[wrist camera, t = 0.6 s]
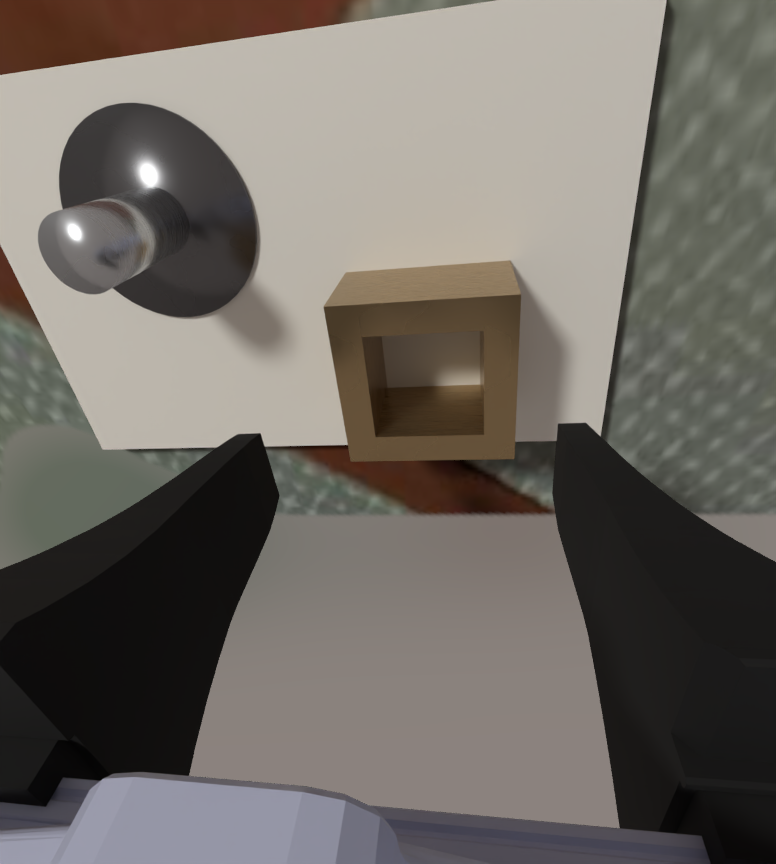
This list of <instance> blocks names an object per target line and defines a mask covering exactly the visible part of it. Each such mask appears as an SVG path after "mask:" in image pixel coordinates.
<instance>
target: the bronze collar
mask: <svg viewBox="0 0 776 864" xmlns="http://www.w3.org/2000/svg"><path fill="white" fill-rule="evenodd" d="M520 312H521V292H520V289H519V286H518V283H517V280H516V277H515V274H514V270H513V267H512V264H511V261H510V260H508V261H495V262H481V263H467V264H453V265H440V266H426V267H412V268H399V269H385V270H371V271H357V272H346V273H345V274H344V276H343V277H342V279H341V280H340V282H339V283H338V285H337V286H336V288H335V290H334V291H333V293H332V294H331V296H330V297H329V299H328V300H327V302H326V303H325V305H324V313H325V319H326V324H327V330H328V336H329V341H330V347H331V353H332V358H333V364H334V370H335V375H336V381H337V386H338V392H339V398H340V403H341V409H342V415H343V420H344V426H345V432H346V437H347V443H348V449H349V454H350V460H351V461H415V460H487V459H514V457H515V433H516V409H517V384H518V360H519V336H520ZM470 331H480V384H478V385H450V386H423V387H396V388H388V387H387V379H386V370H385V362H384V353H383V345H382V336H393V335H413V334H432V333H451V332H470Z"/></svg>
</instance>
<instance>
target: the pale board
mask: <svg viewBox="0 0 776 864" xmlns="http://www.w3.org/2000/svg"><path fill="white" fill-rule="evenodd" d="M666 1H667V0H497V1H490V2H484V3H477V4H470V5H464V6H457V7H450V8H444V9H437V10H430V11H424V12H417V13H411V14H404V15H397V16H391V17H384V18H377V19H371V20H364V21H357V22H351V23H344V24H337V25H331V26H324V27H317V28H311V29H304V30H298V31H291V32H284V33H278V34H271V35H264V36H258V37H251V38H244V39H238V40H231V41H224V42H218V43H211V44H204V45H198V46H191V47H185V48H178V49H171V50H165V51H158V52H151V53H145V54H138V55H131V56H125V57H118V58H111V59H105V60H98V61H91V62H85V63H78V64H72V65H65V66H58V67H52V68H45V69H38V70H32V71H25V72H18V73H12V74H5V75H0V245H1V247H2V249H3V251H4V253H5V255H6V257H7V259H8V261H9V263H10V265H11V267H12V269H13V271H14V273H15V275H16V277H17V279H18V281H19V283H20V285H21V287H22V289H23V291H24V293H25V295H26V297H27V299H28V301H29V303H30V305H31V307H32V309H33V311H34V313H35V315H36V317H37V319H38V321H39V323H40V325H41V327H42V329H43V331H44V333H45V335H46V337H47V339H48V341H49V343H50V345H51V347H52V349H53V351H54V353H55V355H56V357H57V359H58V361H59V363H60V365H61V367H62V369H63V371H64V373H65V375H66V377H67V379H68V381H69V383H70V385H71V387H72V389H73V391H74V393H75V395H76V397H77V399H78V401H79V403H80V405H81V407H82V409H83V411H84V413H85V415H86V417H87V419H88V421H89V423H90V425H91V427H92V429H93V431H94V433H95V435H96V437H97V439H98V441H99V443H100V445H101V447H102V449H104V450H107V449H160V448H212V447H218V446H220V445H221V444H223V443H224V442H226V441H227V440H229V439H230V438H232V437H234V436H235V435H237V434H252V433H261V436H262V440H263V443H264V446H317V445H348V443H347V437H346V432H345V426H344V420H343V415H342V409H341V403H340V398H339V392H338V386H337V381H336V375H335V370H334V364H333V358H332V353H331V347H330V341H329V336H328V330H327V324H326V319H325V313H324V305H325V303H326V302H327V300H328V299H329V297H330V296H331V294H332V293H333V291H334V290H335V288H336V286H337V285H338V283H339V282H340V280H341V279H342V277H343V276H344V274H345V273H346V272H357V271H371V270H385V269H399V268H412V267H426V266H440V265H453V264H467V263H481V262H495V261H508V260H510V261H511V264H512V267H513V270H514V274H515V277H516V280H517V283H518V286H519V289H520V292H521V312H520V336H519V360H518V384H517V409H516V433H515V442H525V441H557V429H558V424H559V423H587V424H588V425H589V426H590V427H591V428H592V429H593V430H594V431H595V432H596V433H597V434H598V435H599V436H601V431H602V424H603V417H604V411H605V404H606V398H607V391H608V384H609V378H610V371H611V365H612V358H613V351H614V345H615V338H616V331H617V325H618V318H619V312H620V305H621V298H622V292H623V285H624V279H625V272H626V265H627V259H628V252H629V246H630V239H631V232H632V226H633V219H634V213H635V206H636V199H637V193H638V186H639V180H640V173H641V166H642V160H643V153H644V146H645V140H646V133H647V127H648V120H649V113H650V107H651V100H652V94H653V87H654V80H655V74H656V67H657V61H658V54H659V47H660V41H661V34H662V28H663V21H664V14H665V8H666ZM119 103H143V104H150V105H154V106H158V107H162V108H165V109H167V110H169V111H172V112H174V113H176V114H179V115H180V116H182V117H184V118H185V119H187V120H189V121H191V122H192V123H194V124H195V125H196V126H197V127H199V128H200V129H201V130H203V131H204V132H205V133H206V134H207V135H208V136H209V137H211V138H212V139H213V140H214V141H215V142H216V143H217V144H218V145H219V147H220V148H221V149H222V150H223V151H224V153H225V154H226V155H227V156H228V158H229V159H230V161H231V162H232V163H233V165H234V166H235V168H236V169H237V171H238V173H239V175H240V177H241V179H242V180H243V182H244V184H245V187H246V189H247V192H248V194H249V197H250V200H251V203H252V207H253V210H254V215H255V221H256V227H257V248H256V256H255V261H254V265H253V268H252V271H251V273H250V276H249V278H248V280H247V282H246V283H245V285H244V287H243V288H242V289H241V290H240V292H239V293H238V294H237V295H236V296H235V297H234V298H233V299H232V300H231V301H230V302H229V303H227V304H226V305H224V306H223V307H221V308H220V309H218V310H215V311H213V312H211V313H208V314H205V315H201V316H194V317H174V316H167V315H163V314H159V313H156V312H153V311H150V310H148V309H145V308H143V307H141V306H139V305H137V304H135V303H133V302H131V301H130V300H128V299H127V298H125V297H124V296H122V295H121V294H119V293H118V292H117V291H116V290H114V289H113V288H111V289H110V290H108V291H106V292H104V293H101V294H85V293H81V292H79V291H76V290H74V289H72V288H70V287H69V286H67V285H65V284H64V283H63V282H61V281H60V280H59V279H58V278H57V277H56V276H55V275H54V274H53V273H52V271H51V270H50V269H49V267H48V266H47V264H46V263H45V261H44V259H43V257H42V255H41V252H40V249H39V244H38V230H39V226H40V224H41V222H42V221H43V219H44V218H45V217H46V216H47V215H49V214H50V213H53V212H55V211H59V210H62V209H63V208H62V204H61V198H60V191H59V170H60V162H61V158H62V154H63V151H64V148H65V145H66V143H67V141H68V139H69V137H70V135H71V134H72V132H73V131H74V129H75V128H76V127H77V126H78V125H79V124H80V123H81V122H82V121H83V120H84V119H85V118H86V117H87V116H89V115H90V114H92V113H93V112H95V111H97V110H99V109H101V108H104V107H106V106H110V105H114V104H119ZM382 345H383V353H384V362H385V370H386V379H387V387H388V388H396V387H423V386H450V385H478V384H480V331H470V332H451V333H432V334H413V335H393V336H382Z"/></svg>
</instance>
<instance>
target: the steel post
mask: <svg viewBox="0 0 776 864" xmlns="http://www.w3.org/2000/svg"><path fill="white" fill-rule="evenodd" d="M59 191H60V198H61V204H62V208H63V209H62V210H59V211H55V212H53V213H50V214H49V215H47V216H46V217H45V218H44V219H43V221H42V222H41V224H40V226H39V230H38V244H39V249H40V252H41V255H42V257H43V259H44V261H45V263H46V264H47V266H48V267H49V269H50V270H51V271H52V273H53V274H54V275H55V276H56V277H57V278H58V279H59V280H60V281H61V282H63V283H64V284H65V285H67V286H69V287H70V288H72V289H74V290H76V291H79V292H81V293H85V294H101V293H104V292H106V291H108V290H110V289H111V288H113V289H114V290H116V291H117V292H118V293H119V294H121V295H122V296H124V297H125V298H127V299H128V300H130V301H131V302H133V303H135V304H137V305H139V306H141V307H143V308H145V309H148V310H150V311H153V312H156V313H159V314H163V315H167V316H174V317H194V316H201V315H205V314H208V313H211V312H213V311H215V310H218V309H220V308H221V307H223V306H224V305H226V304H227V303H229V302H230V301H231V300H232V299H233V298H234V297H235V296H236V295H237V294H238V293H239V292H240V290H241V289H242V288H243V287H244V285H245V283H246V282H247V280H248V278H249V276H250V273H251V271H252V268H253V265H254V261H255V256H256V248H257V227H256V221H255V215H254V210H253V207H252V203H251V200H250V197H249V194H248V192H247V189H246V187H245V184H244V182H243V180H242V179H241V177H240V175H239V173H238V171H237V169H236V168H235V166H234V165H233V163H232V162H231V161H230V159H229V158H228V156H227V155H226V154H225V153H224V151H223V150H222V149H221V148H220V147H219V145H218V144H217V143H216V142H215V141H214V140H213V139H212V138H211V137H209V136H208V135H207V134H206V133H205V132H204V131H203V130H201V129H200V128H199V127H197V126H196V125H195V124H194V123H192V122H191V121H189V120H187V119H185V118H184V117H182V116H180V115H179V114H176V113H174V112H172V111H169V110H167V109H165V108H162V107H158V106H154V105H150V104H143V103H119V104H114V105H110V106H106V107H104V108H101V109H99V110H97V111H95V112H93V113H92V114H90V115H89V116H87V117H86V118H85V119H84V120H83V121H82V122H81V123H80V124H79V125H78V126H77V127H76V128H75V129H74V131H73V132H72V134H71V135H70V137H69V139H68V141H67V143H66V145H65V148H64V151H63V154H62V158H61V162H60V170H59Z"/></svg>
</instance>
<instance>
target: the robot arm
mask: <svg viewBox="0 0 776 864" xmlns="http://www.w3.org/2000/svg"><path fill="white" fill-rule="evenodd" d="M552 493H553V500H554V506H555V513H556V519H557V525H558V531H559V534H560V538H561V541H562V545H563V548H564V552H565V555H566V558H567V562H568V565H569V568H570V572H571V575H572V578H573V582H574V585H575V588H576V592H577V595H578V599H579V602H580V605H581V609H582V612H583V615H584V619H585V624H586V628H587V632H588V636H589V642H590V647H591V652H592V658H593V663H594V669H595V674H596V680H597V685H598V691H599V696H600V703H601V708H602V714H603V720H604V726H605V733H606V738H607V745H608V751H609V758H610V764H611V771H612V777H613V783H614V791H615V797H616V804H617V812H618V819H619V825H620V828H609V827H598V826H588V825H577V824H565V823H555V822H544V821H533V820H522V819H511V818H500V817H489V816H479V815H468V814H457V813H446V812H435V811H424V810H413V809H402V808H392V807H380V806H370V805H367V804H365V803H362V802H360V801H358V800H356V799H354V798H352V797H350V796H348V795H345V794H342V793H337V792H332V791H327V790H322V789H317V788H312V787H307V786H297V785H285V784H275V783H274V784H273V783H263V782H252V781H239V780H228V779H216V778H206V777H194V776H189V773H190V768H191V764H192V759H193V755H194V750H195V745H196V742H197V738H198V734H199V730H200V726H201V722H202V718H203V714H204V710H205V706H206V702H207V698H208V695H209V692H210V688H211V685H212V681H213V678H214V674H215V670H216V667H217V664H218V660H219V657H220V654H221V651H222V648H223V644H224V641H225V638H226V635H227V632H228V628H229V626H230V622H231V620H232V617H233V615H234V612H235V610H236V607H237V605H238V602H239V600H240V598H241V596H242V593H243V591H244V589H245V587H246V584H247V582H248V580H249V577H250V575H251V573H252V571H253V569H254V566H255V564H256V562H257V560H258V557H259V555H260V553H261V550H262V548H263V546H264V543H265V541H266V539H267V536H268V534H269V531H270V529H271V525H272V522H273V519H274V515H275V511H276V508H277V504H278V500H279V492H278V489H277V486H276V483H275V479H274V476H273V473H272V469H271V466H270V463H269V459H268V456H267V453H266V449H265V446H264V443H263V440H262V436H261V433H252V434H237V435H235V436H234V437H232V438H230V439H229V440H227V441H226V442H224V443H223V444H221V445H220V446H218V447H217V448H216V449H214V450H213V451H211V452H210V453H209V454H207V455H206V456H204V457H203V458H202V459H200V460H199V461H197V462H196V463H195V464H193V465H192V466H190V467H189V468H188V469H186V470H185V471H183V472H182V473H181V474H179V475H178V476H177V477H175V478H174V479H172V480H171V481H169V482H168V483H166V484H165V485H163V486H162V487H160V488H159V489H157V490H156V491H154V492H153V493H151V494H150V495H148V496H147V497H145V498H144V499H142V500H141V501H139V502H137V503H136V504H134V505H133V506H131V507H130V508H128V509H126V510H124V511H123V512H121V513H119V514H117V515H116V516H114V517H112V518H110V519H108V520H107V521H105V522H103V523H101V524H99V525H98V526H96V527H94V528H92V529H90V530H88V531H86V532H84V533H82V534H80V535H78V536H76V537H73V538H72V539H69V540H67V541H65V542H63V543H61V544H59V545H57V546H55V547H53V548H51V549H49V550H46V551H44V552H42V553H40V554H37V555H35V556H32V557H30V558H28V559H25V560H23V561H21V562H18V563H16V564H13V565H11V566H8V567H6V568H3V569H0V864H776V562H775V561H773V560H771V559H769V558H767V557H765V556H763V555H762V554H760V553H758V552H756V551H754V550H752V549H751V548H749V547H747V546H745V545H743V544H742V543H739V542H738V541H736V540H734V539H733V538H731V537H729V536H728V535H726V534H724V533H722V532H721V531H719V530H718V529H716V528H715V527H713V526H711V525H710V524H708V523H707V522H705V521H704V520H702V519H701V518H699V517H698V516H696V515H695V514H693V513H692V512H690V511H689V510H687V509H686V508H684V507H683V506H681V505H680V504H679V503H677V502H676V501H675V500H673V499H672V498H671V497H669V496H668V495H667V494H665V493H664V492H663V491H662V490H660V489H659V488H658V487H656V486H655V485H654V484H653V483H651V482H650V481H649V480H648V479H646V478H645V477H644V476H643V475H642V474H640V473H639V472H638V471H637V470H636V469H635V468H634V467H632V466H631V465H630V464H629V463H628V462H627V461H626V460H625V459H624V458H623V457H621V456H620V455H619V454H618V453H617V452H616V451H615V450H614V449H613V448H612V447H611V446H610V445H609V444H608V443H607V442H606V441H605V440H604V439H603V438H602V437H601V436H599V435H598V434H597V433H596V432H595V431H594V430H593V429H592V428H591V427H590V426H589V425H588V424H587V423H559V424H558V429H557V441H556V454H555V467H554V479H553V492H552Z"/></svg>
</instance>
